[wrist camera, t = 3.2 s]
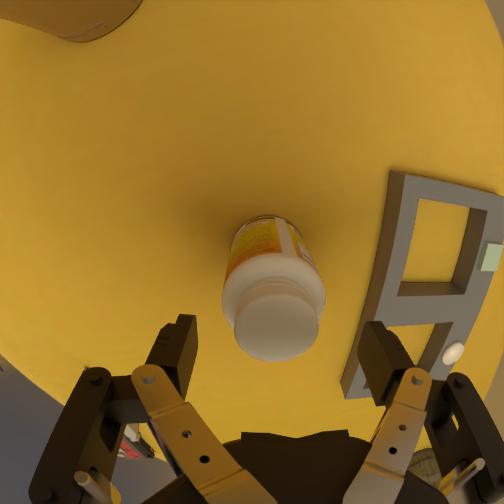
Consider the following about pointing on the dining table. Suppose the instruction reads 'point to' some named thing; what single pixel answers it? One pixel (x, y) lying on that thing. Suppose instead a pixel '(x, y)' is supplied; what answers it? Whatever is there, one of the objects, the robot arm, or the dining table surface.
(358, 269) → the dining table surface
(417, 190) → the grey flat frame
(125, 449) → the walkie-talkie
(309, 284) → the supplement bottle
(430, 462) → the thermos
